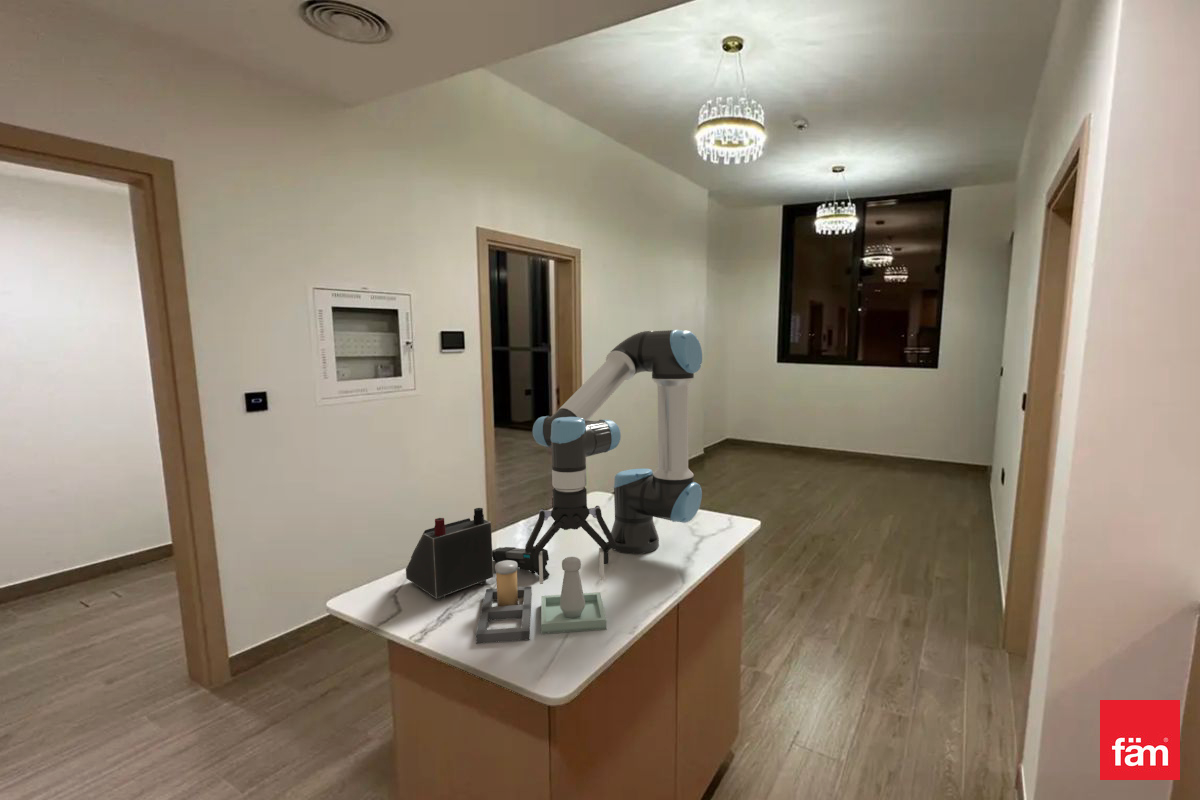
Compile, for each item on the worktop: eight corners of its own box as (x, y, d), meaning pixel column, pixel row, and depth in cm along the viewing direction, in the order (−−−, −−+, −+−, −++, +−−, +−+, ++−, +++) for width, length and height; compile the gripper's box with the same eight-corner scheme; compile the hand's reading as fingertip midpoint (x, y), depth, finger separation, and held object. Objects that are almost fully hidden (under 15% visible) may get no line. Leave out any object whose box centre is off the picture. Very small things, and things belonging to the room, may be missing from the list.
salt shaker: (559, 608, 125) (558, 554, 124) (584, 606, 125) (583, 552, 124) (560, 621, 119) (558, 564, 118) (586, 619, 120) (584, 563, 118)
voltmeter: (460, 564, 152) (457, 495, 150) (493, 582, 141) (490, 508, 139) (406, 583, 141) (401, 509, 139) (436, 604, 130) (432, 523, 127)
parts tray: (600, 600, 129) (600, 592, 129) (606, 629, 117) (606, 619, 116) (541, 604, 128) (541, 595, 128) (541, 634, 115) (541, 624, 115)
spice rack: (531, 593, 134) (530, 554, 133) (529, 639, 113) (527, 593, 112) (486, 596, 133) (485, 556, 132) (476, 643, 112) (473, 596, 111)
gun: (542, 581, 140) (532, 543, 141) (497, 586, 153) (488, 551, 154) (554, 575, 143) (544, 538, 145) (509, 580, 156) (500, 546, 157)
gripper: (622, 480, 124) (624, 569, 126) (513, 485, 122) (516, 575, 124) (627, 489, 117) (629, 583, 119) (511, 494, 114) (514, 590, 116)
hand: (571, 579), depth 121 cm, fingers open, 13 cm apart
